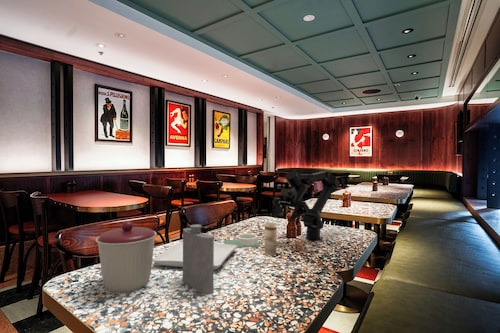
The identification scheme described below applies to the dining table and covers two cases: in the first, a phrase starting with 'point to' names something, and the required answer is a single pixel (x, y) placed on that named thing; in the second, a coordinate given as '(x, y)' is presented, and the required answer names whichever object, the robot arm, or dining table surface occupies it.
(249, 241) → the octagonal cup coaster
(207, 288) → the hip flask
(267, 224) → the tan tapered tumbler
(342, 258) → the dining table surface
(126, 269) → the canister
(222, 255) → the square plate
